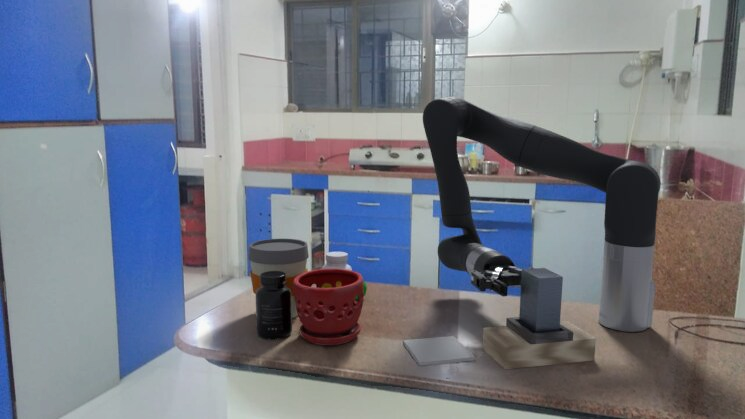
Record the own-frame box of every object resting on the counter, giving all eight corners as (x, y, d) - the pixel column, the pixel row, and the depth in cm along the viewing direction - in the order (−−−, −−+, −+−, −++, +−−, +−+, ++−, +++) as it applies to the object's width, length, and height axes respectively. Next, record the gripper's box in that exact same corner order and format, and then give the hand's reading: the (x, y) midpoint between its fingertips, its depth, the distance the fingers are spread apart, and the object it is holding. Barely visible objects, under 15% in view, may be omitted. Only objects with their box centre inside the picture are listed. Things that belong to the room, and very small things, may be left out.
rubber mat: (453, 339, 110) (453, 335, 109) (474, 360, 100) (474, 357, 100) (403, 343, 107) (403, 340, 107) (419, 365, 98) (419, 362, 98)
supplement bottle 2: (347, 318, 120) (347, 258, 118) (317, 315, 122) (317, 256, 120) (355, 308, 127) (355, 251, 125) (326, 305, 128) (326, 249, 126)
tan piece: (565, 341, 109) (567, 313, 108) (594, 360, 100) (596, 330, 100) (482, 348, 105) (483, 319, 104) (505, 369, 96) (506, 338, 96)
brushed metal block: (541, 326, 106) (544, 267, 104) (558, 338, 100) (562, 276, 98) (518, 328, 104) (521, 269, 103) (535, 340, 99) (538, 278, 97)
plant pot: (306, 322, 118) (306, 265, 116) (369, 328, 115) (370, 269, 113) (284, 347, 105) (283, 283, 103) (354, 354, 102) (354, 288, 100)
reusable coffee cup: (321, 310, 125) (320, 242, 123) (282, 327, 115) (281, 254, 112) (277, 300, 132) (276, 235, 130) (237, 315, 122) (235, 246, 119)
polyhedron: (370, 297, 135) (370, 277, 134) (361, 303, 130) (361, 283, 129) (351, 294, 137) (351, 275, 136) (341, 300, 132) (341, 280, 131)
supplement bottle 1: (258, 327, 115) (257, 269, 113) (293, 327, 115) (292, 268, 113) (254, 340, 108) (252, 279, 106) (291, 340, 108) (290, 278, 106)
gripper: (458, 251, 119) (492, 272, 103) (521, 248, 122) (563, 268, 107) (457, 286, 120) (490, 312, 104) (519, 282, 123) (560, 307, 108)
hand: (527, 289), depth 106 cm, fingers open, 8 cm apart
